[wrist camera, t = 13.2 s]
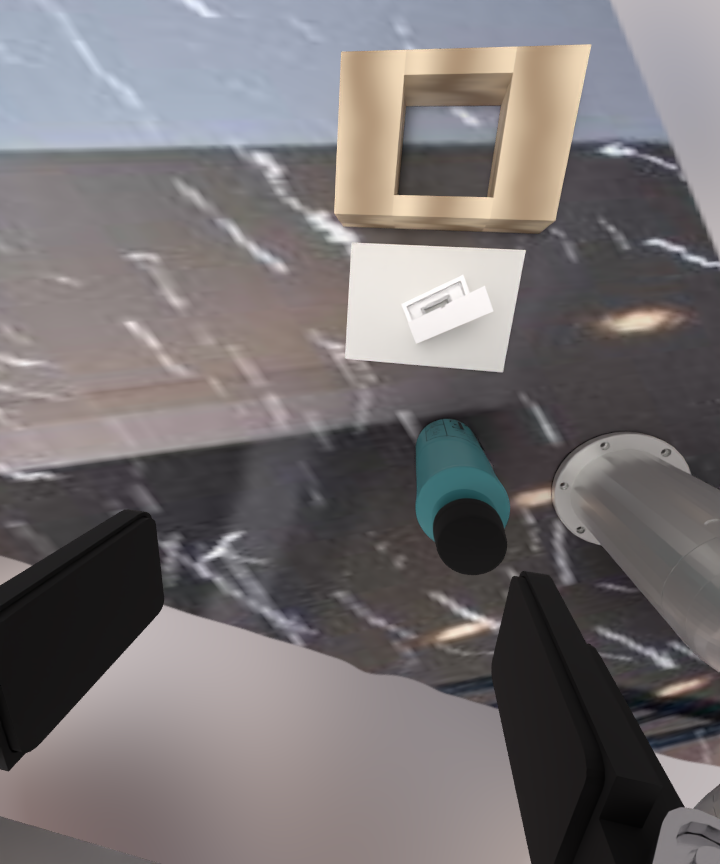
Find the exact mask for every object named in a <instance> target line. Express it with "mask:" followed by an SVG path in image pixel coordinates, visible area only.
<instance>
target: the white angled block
mask: <svg viewBox="0 0 720 864" xmlns="http://www.w3.org/2000/svg"><path fill="white" fill-rule="evenodd" d="M444 301H447V304H446V305H444V306H443V307H442V308H441V307H439V308H437V309H435V310H433V311H431V312H429V313H427V314H426V312H425V310H426V309H429V308H431V307H433V306H435V305H437V304H439V303H441V302H444ZM401 305H402V308H403V310H404V313H405V315H406V318H407V320H408V325H409V327H410V330H411V332H412V335H413V337H414V340H415V342H416V344H417V343H419V342H422V341H424V340H427V339H429V338H431V337H434V336H436V335H438V334H441V333H443V332H446V331H448V330H450V329H453V328H455V327H457V326H460V325H462V324H465V323H467V322H469V321H472V320H474V319H476V318H479V317H481V316H484V315H486V314H488V313H491V312H493V308H492V305H491V302H490V299H489V297H488V294H487V291H486V288H485V286H483V287H481V288H479V289H477V290H475V291H473V292H471V293H470V292H469V289H468V286H467V284H466V281H465V278H464V275H461V276H459V277H457V278H455V279H453V280H451V281H449V282H446V283H444V284H442V285H440V286H438V287H436V288H434V289H432V290H430V291H428V292H426V293H424V294H421V295H419V296H417V297H415V298H413V299H411V300H409V301H407V302H405V303H403V304H401Z"/></svg>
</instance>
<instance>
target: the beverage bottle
mask: <svg viewBox="0 0 720 864" xmlns="http://www.w3.org/2000/svg"><path fill="white" fill-rule="evenodd" d="M461 422H462V421H461ZM461 422H460V421H457V419H456V420H453V419H452V418H450V419H444V418H443V419H441V420H437V421H434V422H433V421H432V423H431V422H430V424H429V425H428V424H427V426H425V428H424V429H423V430H422V432H421V433H420V435H419V437H418V439H417V443H416V474H417V482H416V483H417V499H416V516H417V519H418V522H419V524H420V526H421V528H422V529H423V531H424V532H425V533H426V534H427V536H428V537H430V538H431V539H432V540H433V541H435V543H436V547H437V551H438V554H439V556H440V558H441V559H442V561H443V562H444V563H445V564H446V565H447V566H448V567H449V568H451V569H452V570H454V571H456V572H459V573H462V574H467V575H479V574H484V573H487V572H489V571H491V570H493V569H494V568H496V567H497V566H498V565H499V564H500V563H501V562H502V560H503V559H504V556H505V554H506V550H507V539H506V535H505V530H504V528H505V526H506V524H507V522H508V519H509V514H510V502H509V498H508V495H507V493H506V490H505V488H504V487H503V485H502V484H501V483H500V481H499V480H498V478H497V476H496V475H495V473H494V471H493V469H492V466H491V465H490V463H489V461H488V459H487V457H486V456H485V454H484V452H483V450H484V449H483V447H481V446H482V445H481V443H480V445H481V446H480V445H479V443H478V442H480V441H479V440H478V439H477V440H478V441H477V440H476V438H477V437H476V436H475V435H476V434H474V432H473V430H470V429H469V428H468V427H467V426H466V425H465V424H463V423H464V422H463V423H461ZM472 432H473V433H472ZM475 437H476V438H475ZM481 448H482V449H483V450H482V449H481ZM414 454H415V449H414ZM414 456H415V455H414ZM489 460H490V459H489ZM414 461H415V457H414ZM414 464H415V463H414ZM493 467H494V466H493Z"/></svg>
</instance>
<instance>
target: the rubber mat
mask: <svg viewBox="0 0 720 864" xmlns="http://www.w3.org/2000/svg"><path fill="white" fill-rule="evenodd" d="M525 251H526V250H510V249H487V248H463V247H440V246H416V245H393V244H370V243H352V246H351V264H350V281H349V299H348V316H347V334H346V352H345V359H354V360H365V361H377V362H388V363H400V364H411V365H423V366H435V367H446V368H458V369H469V370H481V371H492V372H503V369H504V363H505V358H506V353H507V347H508V342H509V337H510V331H511V326H512V321H513V315H514V310H515V305H516V299H517V294H518V289H519V283H520V278H521V273H522V267H523V262H524V257H525ZM461 275H464V278H465V281H466V284H467V286H468V289H469V292H470V293H471V292H473V291H475V290H477V289H479V288H481V287H483V286H485V288H486V291H487V294H488V297H489V299H490V302H491V305H492V308H493V312H491V313H488V314H486V315H484V316H481V317H479V318H476V319H474V320H472V321H469V322H467V323H465V324H462V325H460V326H457V327H455V328H453V329H450V330H448V331H446V332H443V333H441V334H438V335H436V336H434V337H431V338H429V339H427V340H424V341H422V342H419V343H417V344H416V342H415V340H414V337H413V335H412V332H411V330H410V327H409V325H408V320H407V318H406V315H405V313H404V310H403V308H402V305H401V304H403V303H405V302H407V301H409V300H411V299H413V298H415V297H417V296H419V295H421V294H424V293H426V292H428V291H430V290H432V289H434V288H436V287H438V286H440V285H442V284H444V283H446V282H449V281H451V280H453V279H455V278H457V277H459V276H461ZM446 304H447V301H444V302H441V303H439V304H437V305H435V306H433V307H431V308H429V309H426V310H425V312H426V314H427V313H429V312H431V311H433V310H435V309H437V308H439V307H441V308H442V307H443V306H444V305H446Z"/></svg>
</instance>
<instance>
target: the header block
mask: <svg viewBox="0 0 720 864" xmlns="http://www.w3.org/2000/svg"><path fill="white" fill-rule="evenodd" d="M590 48H591V45H557V46H523V47H489V48H455V49H421V50H386V51H352V52H341V71H340V94H339V117H338V140H337V163H336V187H335V210H334V214H335V215H336V217H337V218H338V219H339V221H340V222H341V224H342V225H343V226H344V227H369V228H396V229H424V230H451V231H478V232H505V233H532V234H539V233H540V232H542V231H543V230H544V229H545V228H547V227H548V226H549V225H550V224H552V223H553V222H554V221H555V219H556V214H557V209H558V205H559V200H560V195H561V190H562V185H563V180H564V175H565V170H566V166H567V161H568V156H569V151H570V146H571V141H572V136H573V131H574V127H575V122H576V117H577V112H578V107H579V102H580V97H581V92H582V87H583V83H584V78H585V73H586V68H587V63H588V58H589V53H590ZM494 105H501V109H500V115H499V122H498V128H497V135H496V142H495V148H494V155H493V161H492V168H491V174H490V181H489V187H488V194H487V197H450V196H409V195H398V190H399V179H400V168H401V156H402V145H403V134H404V122H405V111H406V106H494Z"/></svg>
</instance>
